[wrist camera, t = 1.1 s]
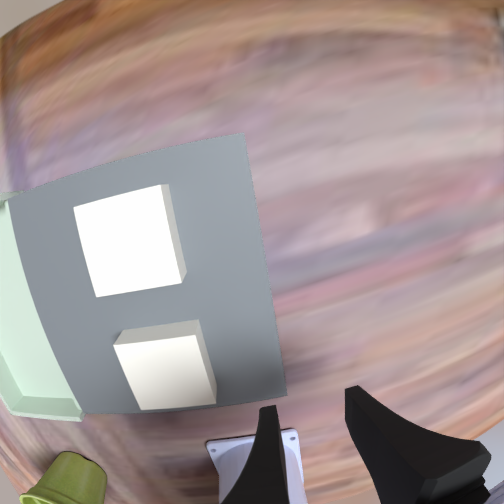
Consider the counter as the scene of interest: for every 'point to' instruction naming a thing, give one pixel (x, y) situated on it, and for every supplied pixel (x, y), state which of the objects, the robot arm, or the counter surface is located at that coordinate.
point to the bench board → (166, 297)
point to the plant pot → (69, 483)
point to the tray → (26, 342)
